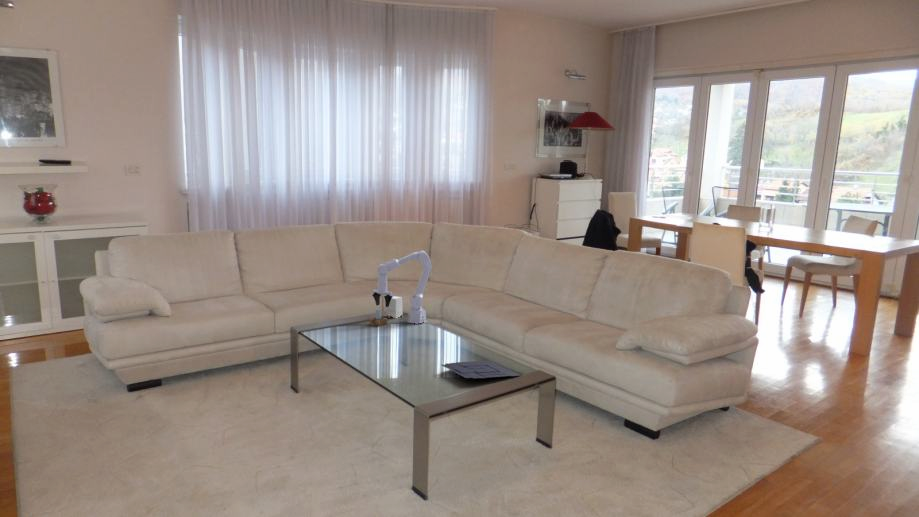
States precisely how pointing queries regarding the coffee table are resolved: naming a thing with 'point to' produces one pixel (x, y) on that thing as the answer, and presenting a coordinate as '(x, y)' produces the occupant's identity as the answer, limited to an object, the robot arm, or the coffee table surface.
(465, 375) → the grey flat block
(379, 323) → the brown square frame
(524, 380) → the coffee table surface
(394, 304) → the supplement box
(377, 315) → the dowel
